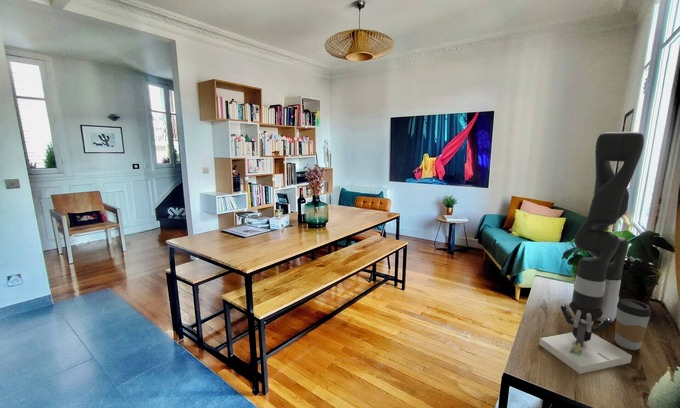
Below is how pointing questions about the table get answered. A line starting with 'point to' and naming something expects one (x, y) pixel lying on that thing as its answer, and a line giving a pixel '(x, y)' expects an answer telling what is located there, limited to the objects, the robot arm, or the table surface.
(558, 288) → the table surface
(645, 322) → the coffee cup
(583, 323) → the dark gray beam
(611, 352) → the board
